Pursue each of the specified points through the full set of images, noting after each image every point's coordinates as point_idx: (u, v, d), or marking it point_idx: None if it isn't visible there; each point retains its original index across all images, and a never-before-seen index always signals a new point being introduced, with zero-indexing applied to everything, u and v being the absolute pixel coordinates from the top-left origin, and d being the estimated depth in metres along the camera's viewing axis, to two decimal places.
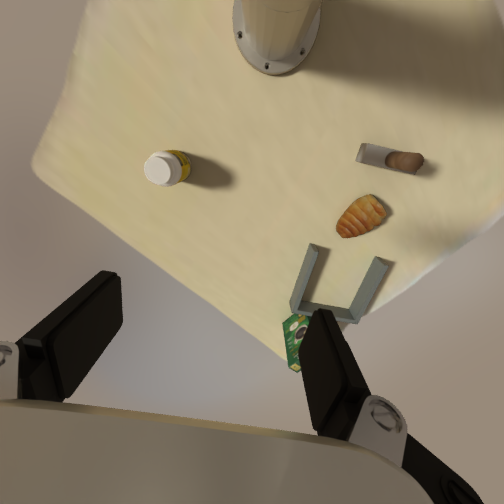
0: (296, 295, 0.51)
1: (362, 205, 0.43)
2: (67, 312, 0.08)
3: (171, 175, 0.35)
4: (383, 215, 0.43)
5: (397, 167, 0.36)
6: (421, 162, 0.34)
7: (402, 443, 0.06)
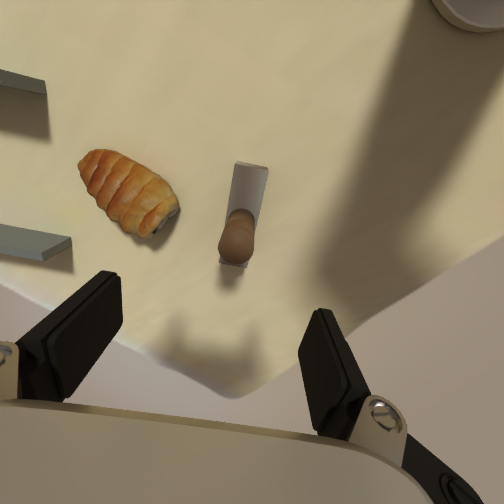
0: None
1: (151, 189, 0.21)
2: (67, 312, 0.08)
3: None
4: (141, 232, 0.23)
5: (226, 225, 0.19)
6: (235, 261, 0.17)
7: (402, 443, 0.06)
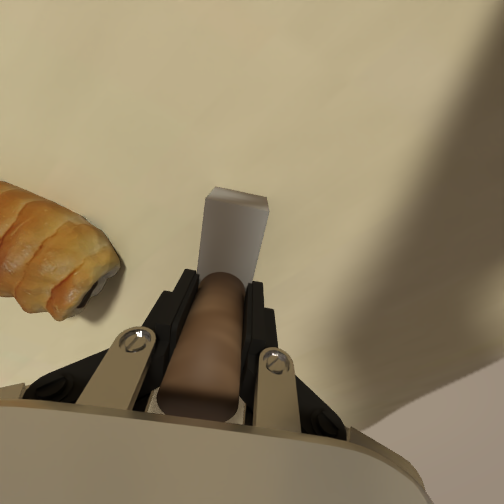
0: None
1: (58, 245, 0.12)
2: (177, 303, 0.09)
3: None
4: None
5: (186, 326, 0.09)
6: None
7: (293, 377, 0.07)
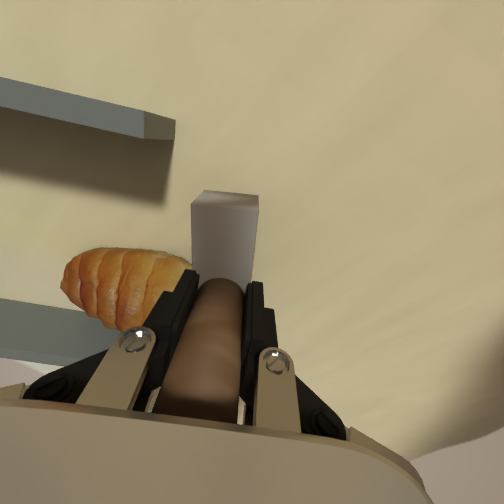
0: None
1: (158, 280, 0.14)
2: (177, 303, 0.09)
3: None
4: None
5: (180, 340, 0.09)
6: None
7: (293, 377, 0.07)
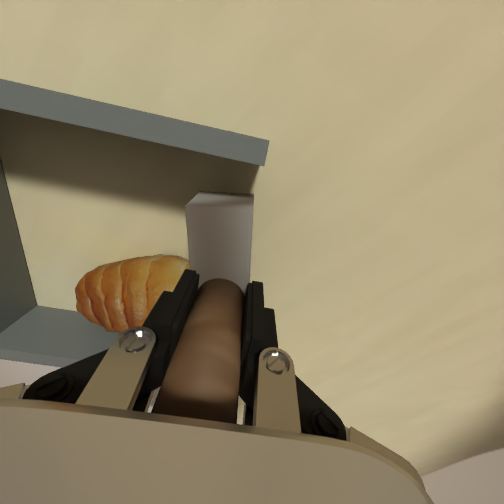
0: None
1: (157, 281, 0.14)
2: (177, 303, 0.09)
3: None
4: None
5: (179, 341, 0.09)
6: None
7: (293, 377, 0.07)
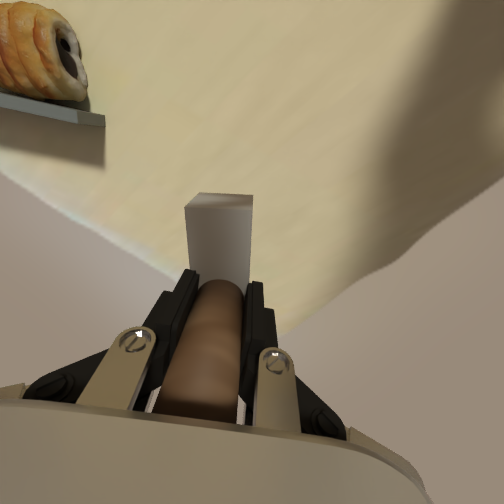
0: None
1: (16, 7, 0.18)
2: (177, 303, 0.09)
3: None
4: (51, 71, 0.19)
5: (179, 342, 0.09)
6: None
7: (293, 377, 0.07)
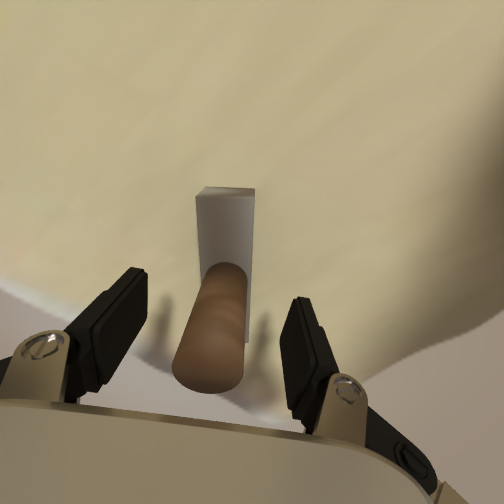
0: None
1: None
2: (107, 304, 0.08)
3: None
4: None
5: (192, 311, 0.10)
6: (213, 388, 0.09)
7: (364, 413, 0.07)
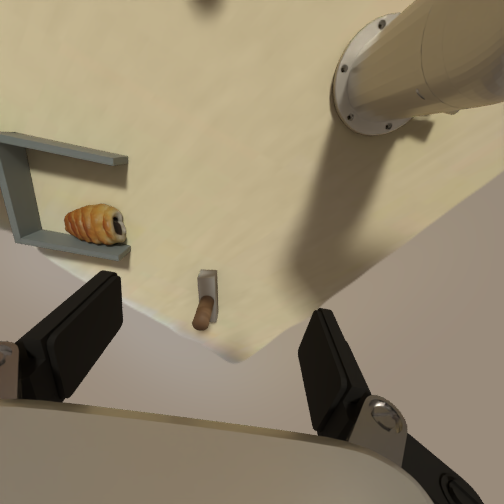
0: (26, 138, 0.30)
1: (94, 212, 0.36)
2: (67, 312, 0.08)
3: None
4: (110, 237, 0.37)
5: None
6: (201, 329, 0.37)
7: (402, 443, 0.06)
